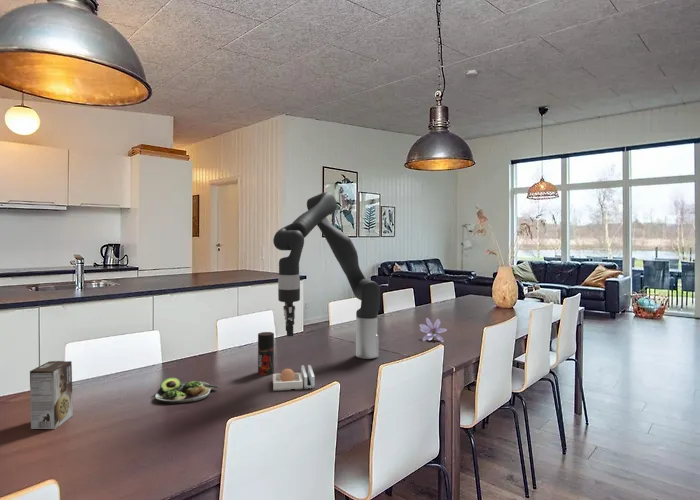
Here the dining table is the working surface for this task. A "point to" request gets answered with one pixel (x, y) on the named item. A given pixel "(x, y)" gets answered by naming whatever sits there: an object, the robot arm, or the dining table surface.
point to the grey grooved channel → (309, 374)
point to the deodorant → (265, 353)
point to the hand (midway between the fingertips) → (289, 333)
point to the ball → (287, 375)
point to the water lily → (432, 330)
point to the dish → (287, 382)
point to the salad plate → (182, 391)
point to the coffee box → (51, 394)
